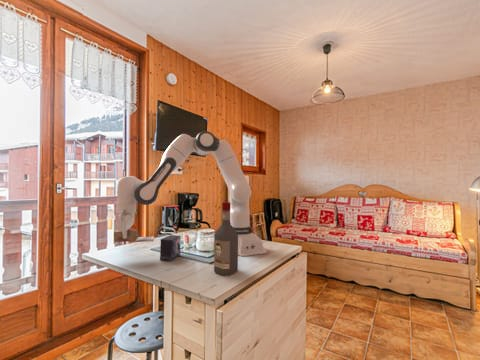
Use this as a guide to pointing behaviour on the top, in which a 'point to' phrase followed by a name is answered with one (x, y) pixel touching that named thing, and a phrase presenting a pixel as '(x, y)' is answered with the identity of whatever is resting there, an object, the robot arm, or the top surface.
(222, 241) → the liquor
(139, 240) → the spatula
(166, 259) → the small box
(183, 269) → the top surface
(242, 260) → the top surface
